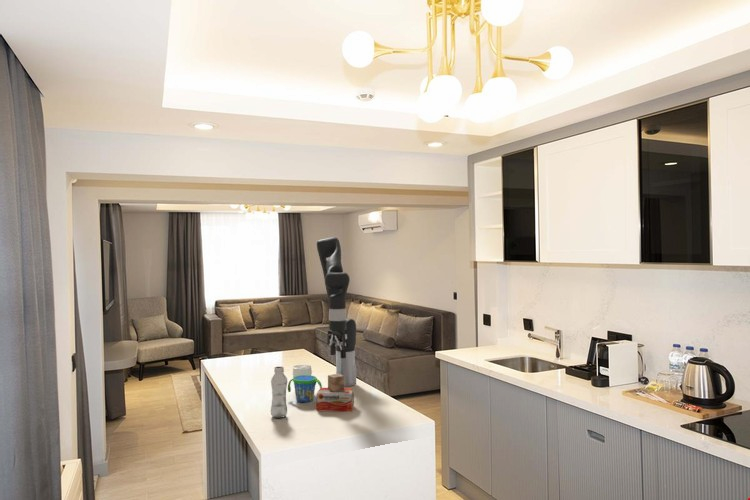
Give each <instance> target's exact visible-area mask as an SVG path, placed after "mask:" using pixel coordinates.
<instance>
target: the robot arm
mask: <svg viewBox="0 0 750 500" xmlns="http://www.w3.org/2000/svg"><path fill="white" fill-rule="evenodd" d="M316 248H317V249H316V251H317V253H318V257H319V260H320V265H321V269H322V274H323V279H324V285H325V289H326V294H327V298H328V299H327V300H328V303H329V307H328V308H329V310H328V330H327V335H326V336H327V337H326V339H327V340H326V341H327V342H326V343H327V345H329V347H330V348H329V349H330V353H329V354H330V356H335V355H336V356H335V357H336V358H335V359H336V361H335V362H336V363H335V367H336V368H335V369H336V371H335V372H336V373H335V374H340V375H343V376H344V388H349V387H354V386H355V385H357V365H356V362H355V359H356V358H355V357H356V356H355V354H356V351H355V348H356V342H357V324H356V321H355V320H354V319H352V318H347V311H346V310H347V309H346V308H347V307H346V305H347V303H346V302H347V301H346V298H347V292H348V288H349V285H350V281H351V279H350V276H349V273H347V272H344V269H343V264H342V250H341V249H342V247H341V244H340V241H339V238H338V237H335V236H333V237H327V238H322V239H318V240H317V241H316ZM327 258H328V259H327Z"/></svg>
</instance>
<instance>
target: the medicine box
mask: <svg viewBox="0 0 750 500" xmlns="http://www.w3.org/2000/svg"><path fill="white" fill-rule="evenodd" d="M354 391H355V389H354V387H344V390H341V391H336V392H333V391H331V390H329V389H328V387H322V388H320V387H319V389H318V390H317V392H316V398H315V407H316V411H317V412H350V413H351V412H352V411H353V408H354V405H355V392H354Z"/></svg>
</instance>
